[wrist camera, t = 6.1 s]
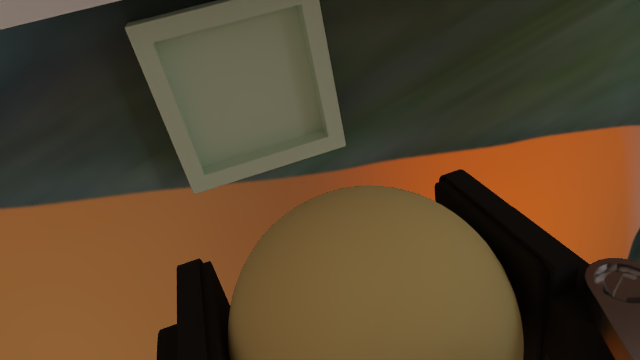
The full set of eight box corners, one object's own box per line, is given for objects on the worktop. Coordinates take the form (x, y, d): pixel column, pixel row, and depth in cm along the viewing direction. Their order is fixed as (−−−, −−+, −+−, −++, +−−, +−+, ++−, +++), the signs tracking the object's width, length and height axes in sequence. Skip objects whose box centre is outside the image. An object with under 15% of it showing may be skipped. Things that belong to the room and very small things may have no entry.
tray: (306, -23, 24) (315, -21, 23) (337, 135, 29) (346, 145, 28) (127, 22, 23) (124, 27, 21) (193, 181, 28) (193, 194, 26)
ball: (418, 113, 11) (636, 257, 6) (432, 285, 14) (582, 478, 9) (181, 187, 10) (187, 439, 5) (252, 354, 13) (303, 616, 8)
